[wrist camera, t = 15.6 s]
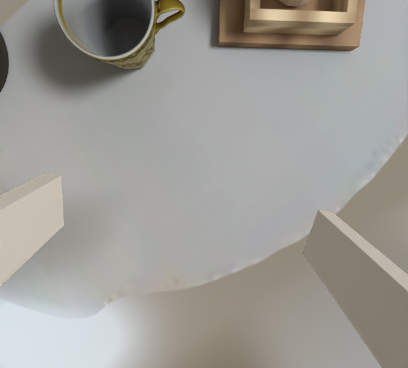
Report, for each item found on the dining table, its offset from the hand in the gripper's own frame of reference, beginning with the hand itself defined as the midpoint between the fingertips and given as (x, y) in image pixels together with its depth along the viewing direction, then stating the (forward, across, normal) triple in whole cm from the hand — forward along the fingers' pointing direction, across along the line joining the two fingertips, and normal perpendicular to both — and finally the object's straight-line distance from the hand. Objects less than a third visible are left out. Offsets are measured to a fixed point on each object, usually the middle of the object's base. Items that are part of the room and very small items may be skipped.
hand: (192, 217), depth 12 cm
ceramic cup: (+28, -9, +12) cm, 31 cm away
